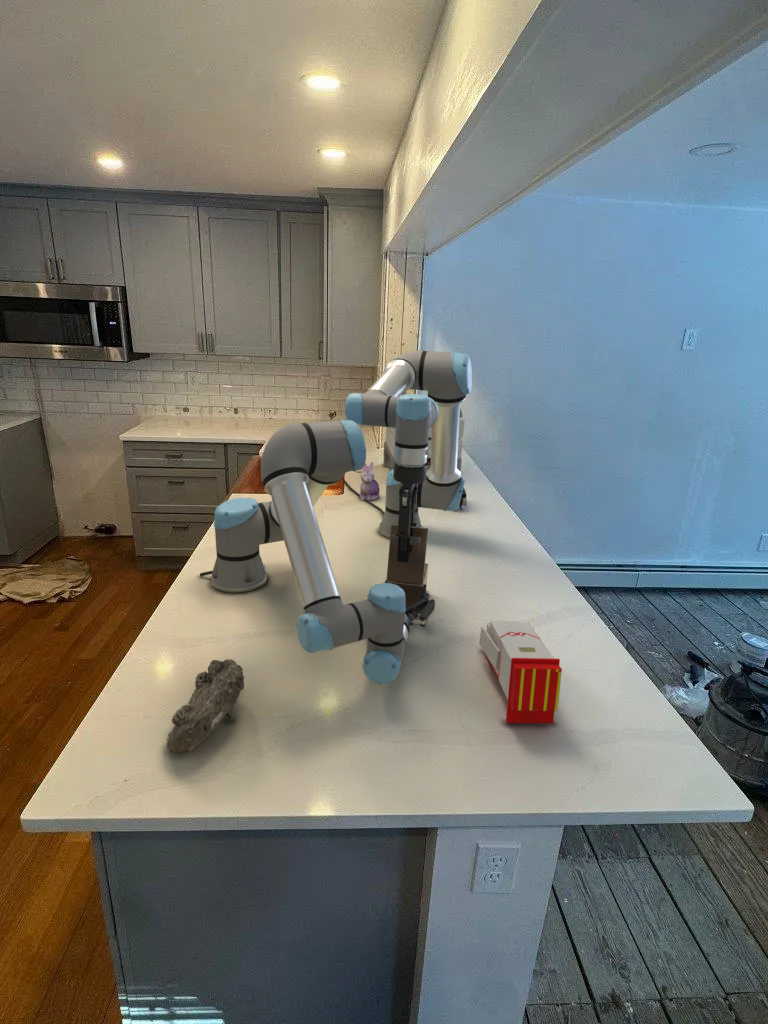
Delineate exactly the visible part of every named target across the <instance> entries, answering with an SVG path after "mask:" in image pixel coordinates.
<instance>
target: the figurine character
mask: <svg viewBox="0 0 768 1024" xmlns="http://www.w3.org/2000/svg"><path fill="white" fill-rule="evenodd" d="M467 503H468V498H467V492H466V489H465V487H464V488H463V492H462V496H461V501H460V505H459V509H460V511H463V507H464V508H465V507H467Z"/></svg>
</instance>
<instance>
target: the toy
mask: <svg viewBox="0 0 768 1024" xmlns="http://www.w3.org/2000/svg"><path fill="white" fill-rule="evenodd" d="M478 642H479V643H478V644H479V646H480V647H481V650H482V651H483V654H484V655H485V657H486V659H487V661H488V663H489V664H490V666H491V669H492V670H493V672H494V674H495V676H496V678H497V679H498V682H499V684H500V687H501V688H502V691H503V693H504V695H505V697H506V699H507V706H506V717H505V722H506V724H547V725H549V724H551V725H553V724H554V718H555V712H558V711H559V710H558V709H559V698H560V689H561V682H562V681H561V680H562V672H563V671H562V667H561V666H560V663H561V659H560V658H554V656H553V654H552V653H551V651H550V650H549V649H548V647H547V646H546V644H545V643H544V642H543V640H542V638H540V636H539V635H538V633H537V631H536V630H535V627H534V626H532V625H531V623H530V622H529V620H528V621H527V620H526V621H525V620H524V621H523V620H490V621H489V622H487V623H486V628H485V626H480V634H479V641H478Z"/></svg>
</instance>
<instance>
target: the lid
mask: <svg viewBox="0 0 768 1024" xmlns="http://www.w3.org/2000/svg"><path fill="white" fill-rule="evenodd" d="M397 533H398V525H391V535H390V538H389V546H388V547H389V548H388V559H387V569H386V570H387V571H386V580H387V581H396V582H404V583H413V584H421V585H423V579H424V569H425V563H426V557H427V546H428V536H429V528H428V527H422V528H420V527H413V537H410V545H412V553H409V562H400V561H397V555H398V537H397V536H395V534H397Z"/></svg>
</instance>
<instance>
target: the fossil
mask: <svg viewBox="0 0 768 1024" xmlns="http://www.w3.org/2000/svg"><path fill="white" fill-rule="evenodd" d="M243 670H244V669H243V667H242V665H240V664H237V662H236V661H235V660H234V659H232V658H231V659H227V658H226V659H224V660H223V661H222V660H217V659H212V660H211V661H210V663H209V665H208V666H207V671H201V672H199V673H198V674H197V675H196V676H195V680H194V684H195V685H194V687H195V689H194V690H193V693H192V694H191V697H190V698H189V700H188V704H184V705H182V706H181V707H180V709H177V710H176V711H175V713H174V715H173V716H172V718H171V723H172V724H173V727H172V730H171V731H170V732H168V734H167V738H166V741H167V742H166V745H167V749H168V750H169V751H173V752H174V753H176V754H178V753H182V752H188V751H189V752H192V751H193V750H195V748H196V747H197V746H199V744H200V743H201V742H203V741H204V740H205V739H206V738H207V737H208V736H209V735H210V734H211V733H212V732H214V730H215V729H217V727H218V726H219V724H220V722H221V721H222V720H223V719H224V718H225V716H226V717H227V719H229V720H233V717H232V715H230V714H229V710H230V709H231V708H234V706H235V704H236V703H237V702H238V699H239V697H240V695H241V693H242V691H243V690H245V689H244V688H245V675H244V671H243Z"/></svg>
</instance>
